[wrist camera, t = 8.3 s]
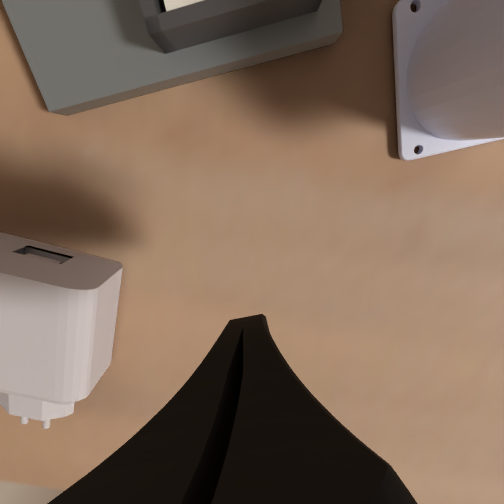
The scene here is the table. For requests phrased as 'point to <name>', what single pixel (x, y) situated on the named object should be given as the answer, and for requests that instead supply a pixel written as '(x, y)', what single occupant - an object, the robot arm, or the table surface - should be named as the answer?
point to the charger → (53, 326)
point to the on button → (178, 3)
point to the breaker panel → (157, 43)
